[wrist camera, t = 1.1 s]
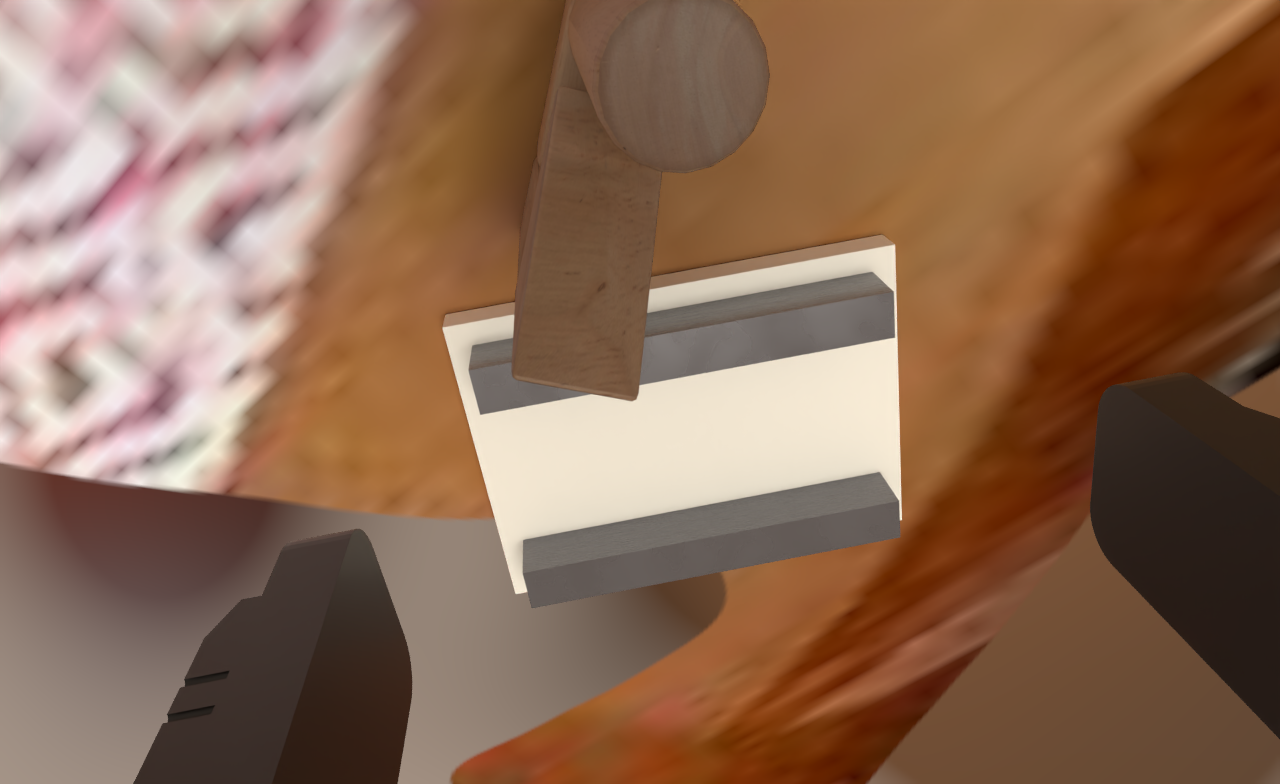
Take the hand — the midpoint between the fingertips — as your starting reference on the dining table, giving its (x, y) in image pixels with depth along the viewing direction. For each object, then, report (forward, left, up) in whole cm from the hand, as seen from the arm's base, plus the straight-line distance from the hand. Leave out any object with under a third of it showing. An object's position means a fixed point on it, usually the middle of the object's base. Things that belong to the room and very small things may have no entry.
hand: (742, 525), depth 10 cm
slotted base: (+14, +2, -28) cm, 31 cm away
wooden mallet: (0, 0, -28) cm, 28 cm away
